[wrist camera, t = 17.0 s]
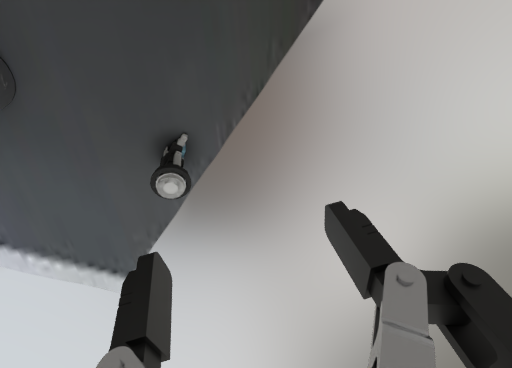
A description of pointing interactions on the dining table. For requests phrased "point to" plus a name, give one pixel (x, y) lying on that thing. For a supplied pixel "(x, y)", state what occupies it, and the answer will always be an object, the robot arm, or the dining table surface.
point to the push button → (172, 172)
